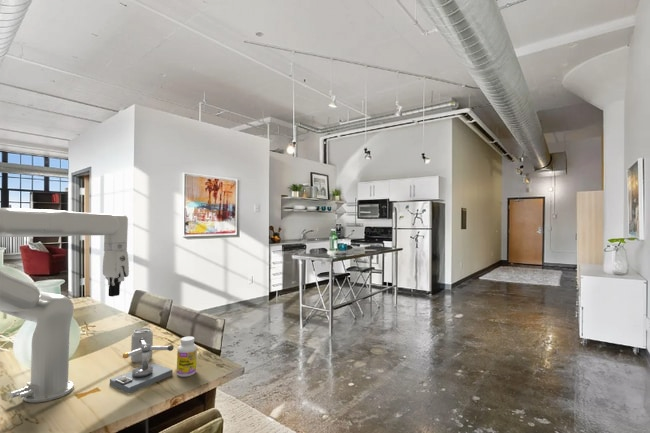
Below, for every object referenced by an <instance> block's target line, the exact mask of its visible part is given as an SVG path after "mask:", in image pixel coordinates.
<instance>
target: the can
mask: <svg viewBox="0 0 650 433" xmlns="http://www.w3.org/2000/svg"><path fill="white" fill-rule="evenodd" d="M141 338H144V339H145V342H146V344H151V346H154V345H153V339H154V332H153V331H152V328H149V327H141V328H136V329H134V330H133V333H132V334H131V344H130V346H131V348H130V352H131V351H133V350H136V349H139V348H140V346H141V343H139V340H140V339H141ZM152 358H153V350H151V351H150V352H149V361H150V360H151V359H152ZM130 360H131V361H132V362H133V363H135V364H142V353H141V352H140V353H138V354H135V355H132V356H130Z"/></svg>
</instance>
